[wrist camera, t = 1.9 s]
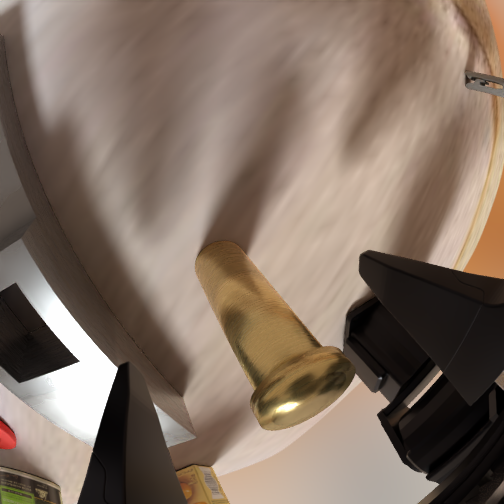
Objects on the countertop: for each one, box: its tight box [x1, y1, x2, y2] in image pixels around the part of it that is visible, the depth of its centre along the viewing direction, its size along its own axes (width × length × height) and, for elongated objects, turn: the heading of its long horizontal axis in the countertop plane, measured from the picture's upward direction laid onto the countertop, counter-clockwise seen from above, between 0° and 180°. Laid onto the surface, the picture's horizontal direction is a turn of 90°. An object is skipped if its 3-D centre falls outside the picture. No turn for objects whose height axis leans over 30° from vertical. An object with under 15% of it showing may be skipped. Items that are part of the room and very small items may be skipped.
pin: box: [195, 241, 356, 431], centre depth 9 cm, size 3×3×7 cm
